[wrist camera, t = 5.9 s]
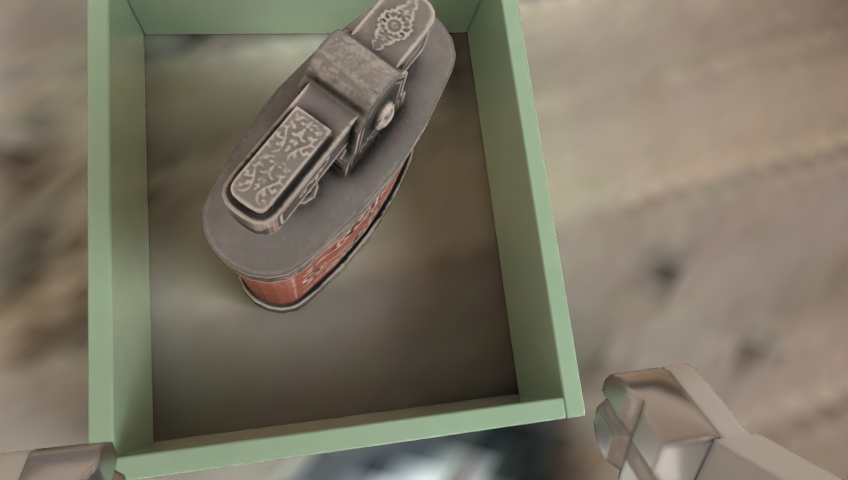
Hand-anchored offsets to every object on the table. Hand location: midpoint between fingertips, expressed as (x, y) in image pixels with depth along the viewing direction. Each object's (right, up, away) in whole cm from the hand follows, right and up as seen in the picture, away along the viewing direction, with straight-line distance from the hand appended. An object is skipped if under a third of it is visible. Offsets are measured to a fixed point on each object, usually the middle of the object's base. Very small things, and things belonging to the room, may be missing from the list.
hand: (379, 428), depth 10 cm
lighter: (-3, +4, +11) cm, 13 cm away
